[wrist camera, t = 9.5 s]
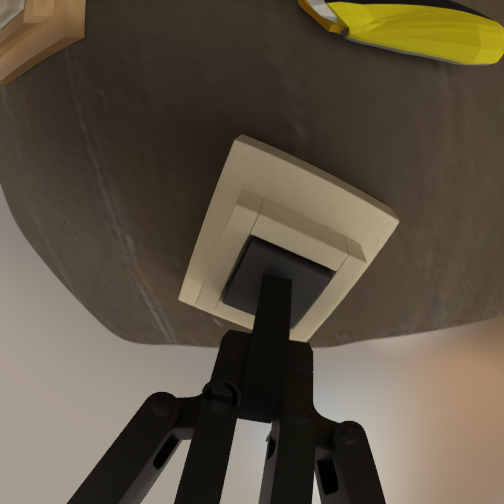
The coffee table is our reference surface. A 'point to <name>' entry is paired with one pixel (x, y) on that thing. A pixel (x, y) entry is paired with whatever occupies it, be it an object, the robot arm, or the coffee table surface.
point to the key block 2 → (284, 229)
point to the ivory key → (10, 11)
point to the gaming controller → (414, 28)
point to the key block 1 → (39, 34)
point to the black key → (279, 265)
